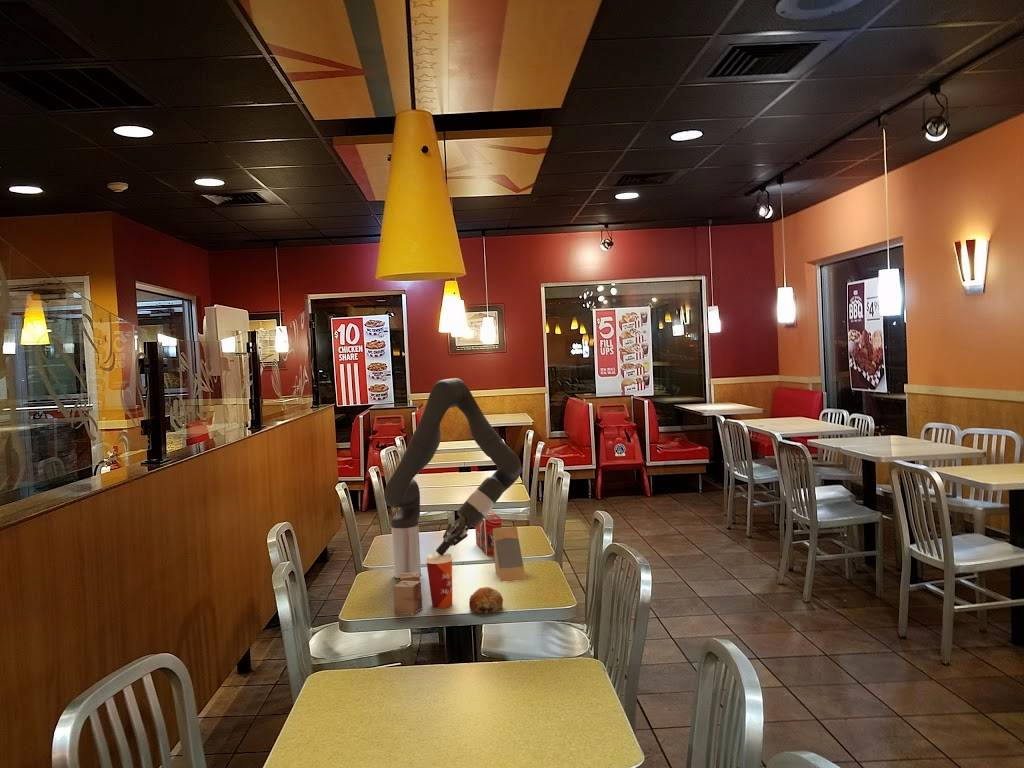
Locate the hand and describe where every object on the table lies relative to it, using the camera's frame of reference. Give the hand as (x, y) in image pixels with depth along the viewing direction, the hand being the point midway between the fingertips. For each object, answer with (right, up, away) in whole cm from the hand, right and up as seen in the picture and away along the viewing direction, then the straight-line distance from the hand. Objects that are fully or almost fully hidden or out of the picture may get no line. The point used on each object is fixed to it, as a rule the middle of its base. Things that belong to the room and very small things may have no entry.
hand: (438, 553), depth 245 cm
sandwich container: (+21, -14, +31) cm, 40 cm away
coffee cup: (+1, -16, +1) cm, 16 cm away
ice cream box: (+13, -13, +72) cm, 74 cm away
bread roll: (+14, -15, -5) cm, 22 cm away
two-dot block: (-9, -16, +7) cm, 20 cm away
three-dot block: (-9, -16, -3) cm, 19 cm away
